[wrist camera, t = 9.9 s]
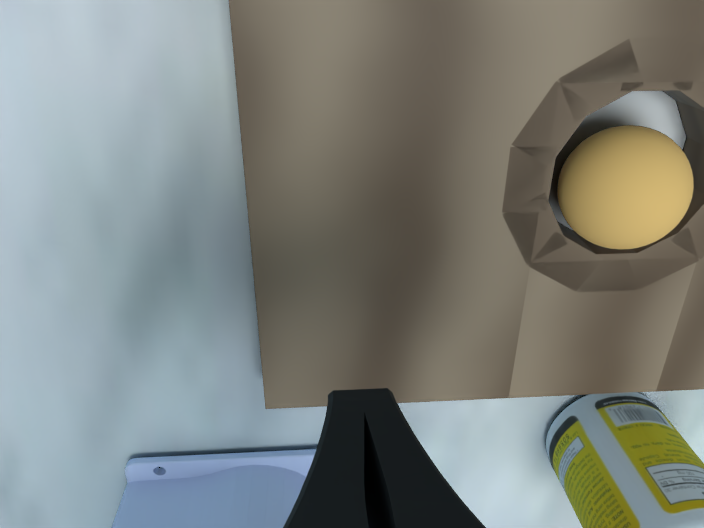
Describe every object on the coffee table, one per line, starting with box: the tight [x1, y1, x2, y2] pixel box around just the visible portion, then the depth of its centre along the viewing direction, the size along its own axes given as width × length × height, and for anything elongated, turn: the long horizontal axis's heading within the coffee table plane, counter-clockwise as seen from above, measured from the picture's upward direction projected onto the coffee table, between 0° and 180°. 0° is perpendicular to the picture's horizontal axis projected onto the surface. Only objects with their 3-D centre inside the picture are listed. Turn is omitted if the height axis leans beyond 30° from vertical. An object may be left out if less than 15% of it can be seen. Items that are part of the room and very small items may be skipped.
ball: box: [557, 125, 694, 249], centre depth 19 cm, size 4×4×4 cm
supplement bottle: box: [546, 392, 704, 528], centre depth 22 cm, size 5×5×10 cm
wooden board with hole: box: [229, 0, 704, 409], centre depth 19 cm, size 18×18×2 cm
